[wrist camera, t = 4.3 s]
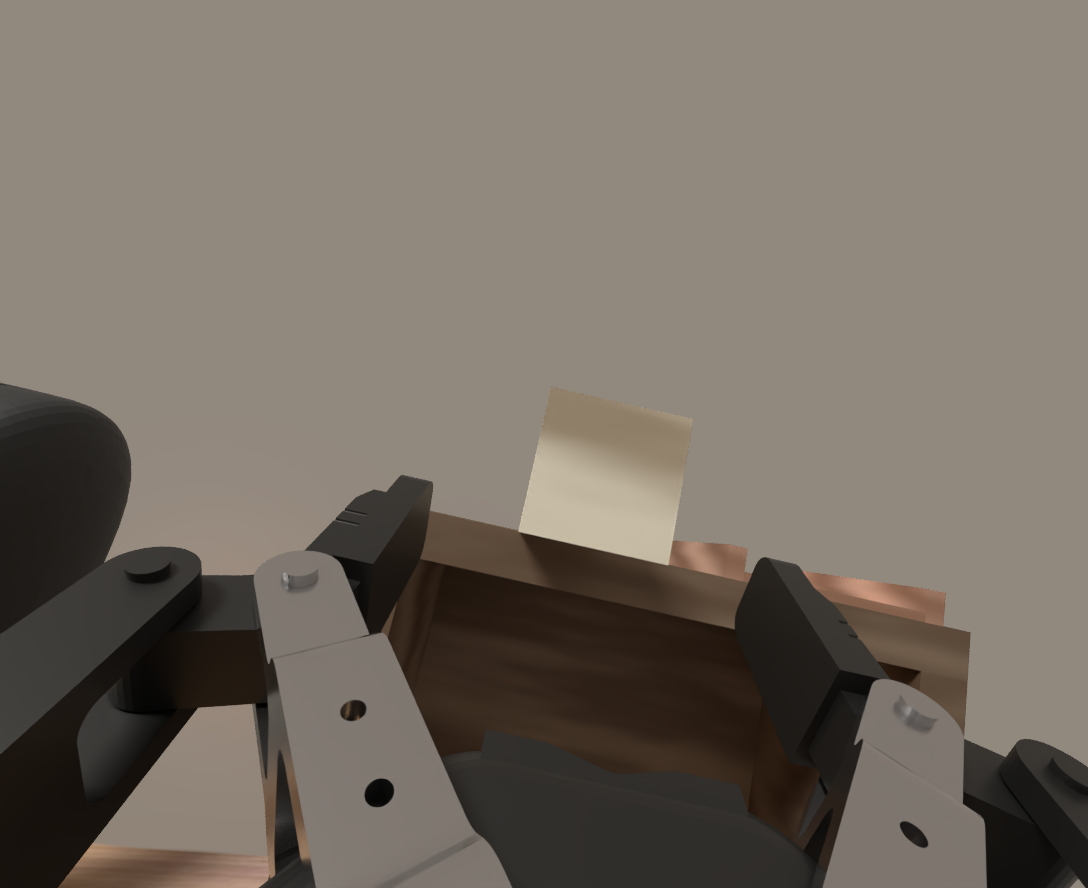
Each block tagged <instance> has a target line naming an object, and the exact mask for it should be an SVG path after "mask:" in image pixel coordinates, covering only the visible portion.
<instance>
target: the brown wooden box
mask: <svg viewBox="0 0 1088 888" xmlns="http://www.w3.org/2000/svg"><path fill="white" fill-rule="evenodd" d="M746 556H747V548H743V547H738V546H734V545H729V544H714V543H699V542H685V541H672V547H671V553H670V559H669V565H664V564H660V563H655V562H651V561H646V560H642V559H637V558H633V557H628V556H624V555H620V554H615V553H611V552H606V551H602V550H597V549H593V548H588V547H584V546H580V545H575V544H571V543H566V542H562V541H557V540H553V539H548V538H544V537H540V536H535V535H531V534H526V533H522V532H518V530H514V529H509V528H505V527H500V526H496V525H492V524H487V523H483V522H478V521H474V520H469V519H465V518H460V517H456V516H452V515H447V514H443V513H438V512H434V511H430V512H429V519H428V526H427V532H426V539H425V544H424V548H423V551H422V554H421V557H420V560H419V562H418V564H417V566H416V568H415V570H414V572H413V574H412V575H411V577H410V579H409V581H408V583H407V585H406V586H405V588H404V590H403V592H402V594H401V596H400V597H399V599H398V601H397V603H396V605H395V607H394V608H393V610H392V612H391V614H390V616H389V618H388V619H387V621H386V623H385V625H384V627H383V629H382V630H381V632H383V633H384V634H385V635H386V636H387V638H388V640H389V642H390V644H391V646H392V649H393V651H394V653H395V656H396V658H397V660H398V662H399V665H400V667H401V669H402V672H403V674H404V676H405V678H406V681H407V683H408V685H409V688H410V690H411V692H412V694H413V697H414V699H415V701H416V704H417V706H418V708H419V710H420V713H421V715H422V717H423V720H424V722H425V724H426V726H427V729H428V731H429V733H430V735H431V738H432V740H433V742H434V745H435V747H436V749H437V751H438V754H439V756H440V758H441V757H444V756H448V755H451V754H456V753H462V752H468V751H481V748H482V744H483V740H484V736H485V731H486V729H488V730H493V731H497V732H502V733H506V734H511V735H515V736H520V737H524V738H529V739H533V740H538V741H542V742H547V743H550V744H552V745H554V746H556V747H558V748H560V749H562V750H565V751H567V752H569V753H571V754H573V755H575V756H577V757H579V758H581V759H583V760H585V761H588V762H590V763H592V764H594V765H596V766H598V767H600V768H602V769H604V770H606V771H609V772H612V773H616V774H628V773H651V772H674V771H678V772H682V773H687V774H692V775H696V776H701V777H705V778H710V779H714V780H719V781H723V782H728V783H732V784H737V785H740V789H741V792H742V795H743V798H744V802H745V805H746V808H747V812H749V813H752V814H754V815H755V816H757V817H759V818H760V819H762V820H764V821H765V822H767V823H769V824H770V825H772V826H773V827H775V828H776V829H777V830H779V831H780V832H782V833H783V834H784V835H786V836H787V837H788V838H789V839H791V840H792V841H793V838H794V835H795V832H796V830H797V827H798V824H799V822H800V819H801V816H802V813H803V811H804V808H805V805H806V803H807V800H808V797H809V794H810V792H811V789H812V787H813V785H814V784H815V782H816V780H817V779H818V777H819V775H820V774H819V772H818V770H817V769H815V768H810V767H806V766H801V765H797V764H792V763H789V761H788V759H787V756H786V754H785V752H784V749H783V747H782V744H781V742H780V740H779V737H778V735H777V732H776V730H775V728H774V725H773V723H772V720H771V718H770V716H769V713H768V711H767V709H766V706H765V704H764V701H763V699H762V697H761V694H760V692H759V689H758V687H757V685H756V682H755V680H754V678H753V675H752V673H751V670H750V668H749V666H748V663H747V661H746V658H745V656H744V654H743V651H742V649H741V647H740V644H739V642H738V639H737V637H736V633H735V615H736V611H737V608H738V606H739V603H740V601H741V599H742V596H743V594H744V592H745V589H746V587H747V585H748V582H749V580H750V578H751V575H752V574H751V573H747V572H744V570H745V562H746ZM803 573H804V574H805V576H806V577H807V578H808V580H809V581H810V582H811V584H812V585H813V587H814V588H815V589H816V590H817V591H818V592H820V593H821V594H822V595H823V596H824V597H826V598H827V599H828V600H829V601H830V602H832V603H833V604H834V605H835V606H836V607H837V608H838V610H839V611H840V612H841V614H842V615H843V616H844V618H845V619H846V620H847V622H848V625H849V626H851V627H852V629H853V630H854V631H855V633H856V634H857V635H858V639H860V640H861V641H862V642H863V643H864V645H865V646H866V647H867V649H868V650H869V651H870V653H871V654H872V655H873V657H874V658H875V659H876V661H877V662H878V663H879V665H880V666H881V667H882V669H883V670H884V671H885V673H886V674H887V675H888V677H889V678H890V679H891V680H894V681H897V682H900V683H903V684H906V685H908V686H910V687H912V688H914V689H916V690H918V691H920V692H921V693H923V694H925V695H926V696H928V697H929V698H931V699H932V700H933V701H935V702H936V703H937V704H939V705H940V706H941V707H942V708H943V709H944V710H945V711H947V712H948V713H949V714H950V716H951V717H952V718H953V719H954V720H955V721H956V723H957V724H958V725H959V727H960V729H961V731H962V733H963V736H964V726H965V711H966V695H967V680H968V664H969V663H968V662H969V648H970V632H966V631H961V630H957V629H953V628H948V627H944V626H943V623H944V609H945V595H946V594H945V593H942V592H938V591H934V590H929V589H923V588H916V587H909V586H902V585H895V584H888V583H881V582H874V581H868V580H861V579H853V578H847V577H840V576H833V575H826V574H819V573H812V572H805V571H803ZM268 880H270V875H269V879H268Z"/></svg>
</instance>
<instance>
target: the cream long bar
mask: <svg viewBox="0 0 1088 888" xmlns="http://www.w3.org/2000/svg"><path fill="white" fill-rule="evenodd" d="M692 425H693V419H691V418H686V417H682V416H678V415H673V414H669V413H664V412H660V411H655V410H651V409H647V408H642V407H638V406H634V405H629V404H625V403H620V402H616V401H611V400H607V399H603V398H598V397H594V396H589V395H585V394H581V393H576V392H572V391H568V390H563V389H559V388H554V387H551V390H550V394H549V399H548V403H547V407H546V412H545V416H544V421H543V425H542V429H541V434H540V438H539V443H538V447H537V451H536V456H535V461H534V465H533V469H532V473H531V478H530V482H529V487H528V491H527V496H526V500H525V504H524V509H523V513H522V518H521V522H520V526H519V531H518V532H522V533H526V534H531V535H535V536H540V537H544V538H548V539H553V540H557V541H562V542H566V543H571V544H575V545H580V546H584V547H588V548H593V549H597V550H602V551H606V552H611V553H615V554H620V555H624V556H628V557H633V558H637V559H642V560H646V561H651V562H655V563H660V564H664V565H669V559H670V553H671V547H672V541H673V535H674V530H675V524H676V518H677V512H678V506H679V500H680V494H681V489H682V483H683V477H684V471H685V465H686V460H687V454H688V448H689V442H690V436H691V430H692Z"/></svg>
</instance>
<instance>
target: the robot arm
mask: <svg viewBox="0 0 1088 888" xmlns="http://www.w3.org/2000/svg"><path fill="white" fill-rule="evenodd" d="M130 482H131V459H130V453H129V449H128V446H127V443H126V440H125V438H124V436H123V434H122V432H121V431H120V429H119V428H118V427H117V425H116V424H115V423H114V422H113V421H112V420H111V419H109V418H108V417H107V416H105V415H104V414H102V413H101V412H100V411H98V410H96V409H94V408H92V407H89V406H87V405H84V404H81V403H79V402H76V401H73V400H69V399H65V398H61V397H58V396H54V395H50V394H46V393H41V392H38V391H33V390H29V389H25V388H21V387H17V386H12V385H7V384H3V383H0V888H58V887H59V885H60V884H61V883H62V882H63V880H64V879H65V878H66V876H67V875H68V874H69V873H70V871H71V870H72V869H73V867H74V866H75V865H76V864H77V862H78V861H79V860H80V858H81V857H82V856H83V855H84V853H85V852H86V851H87V849H88V848H89V847H90V846H91V844H92V843H93V842H94V840H95V839H96V838H97V837H98V835H99V834H100V833H101V831H102V830H103V829H104V828H105V826H106V825H107V824H108V822H109V821H110V820H111V819H112V817H113V816H114V815H115V813H116V812H117V811H118V810H119V808H120V807H121V806H122V805H123V803H124V802H125V801H126V799H127V798H128V797H129V796H130V794H131V793H132V792H133V790H134V789H135V788H136V786H137V785H138V784H139V783H140V781H141V780H142V779H143V778H144V776H145V775H146V774H147V773H148V771H149V770H150V769H151V767H152V766H153V765H154V764H155V762H156V761H157V760H158V758H159V757H160V756H161V754H162V753H163V752H164V751H165V749H166V748H167V747H168V746H169V744H170V743H171V742H172V740H173V739H174V738H175V737H176V735H177V734H178V733H179V731H180V730H181V729H182V728H183V726H184V725H185V724H186V722H187V721H188V720H189V719H190V717H191V716H192V715H193V713H194V712H195V711H196V710H197V708H199V707H213V706H228V705H242V704H252V706H253V714H254V722H255V730H256V737H257V746H258V754H259V761H260V769H261V777H262V785H263V793H264V802H265V815H266V816H265V817H266V837H267V850H268V862H269V871H270V880H268V881H267V882H266V883H264V884H263V885H262V886H261V887H259V888H1070V887H1071V886H1072V885H1073V884H1074V883H1075V882H1076V881H1077V880H1078V879H1079V880H1080V881H1081V882H1082V884H1083V885H1084V886H1085V887H1086V888H1088V767H1087V766H1085V765H1084V764H1082V763H1081V762H1079V761H1078V760H1076V759H1074V758H1073V757H1071V756H1069V755H1068V754H1066V753H1064V752H1062V751H1060V750H1058V749H1056V748H1054V747H1052V746H1050V745H1047V744H1045V743H1042V742H1039V741H1035V740H1031V739H1023V740H1019V741H1018V742H1017V743H1016V745H1015V746H1014V747H1013V749H1012V750H1011V751H1010V752H1009V754H1008V755H1007V756H1006V757H1004V756H1002V755H999V754H997V753H995V752H992V751H990V750H988V749H986V748H983V747H981V746H979V745H977V744H974V743H972V742H970V741H967V740H965V739H964V736H963V733H962V731H961V729H960V727H959V725H958V724H957V723H956V721H955V720H954V719H953V718H952V717H951V716H950V714H949V713H948V712H947V711H945V710H944V709H943V708H942V707H941V706H940V705H939V704H937V703H936V702H935V701H933V700H932V699H931V698H929V697H928V696H926V695H925V694H923V693H921V692H920V691H918V690H916V689H914V688H912V687H910V686H908V685H906V684H903V683H900V682H897V681H894V680H891V679H890V678H889V677H888V675H887V674H886V673H885V671H884V670H883V669H882V667H881V666H880V665H879V663H878V662H877V661H876V659H875V658H874V657H873V655H872V654H871V653H870V651H869V650H868V649H867V647H866V646H865V645H864V643H863V642H862V641H861V640H860V639H858V635H857V634H856V633H855V631H854V630H853V629H852V627H851V626H849V625H848V622H847V620H846V619H845V618H844V616H843V615H842V614H841V612H840V611H839V610H838V608H837V607H836V606H835V605H834V604H833V603H832V602H830V601H829V600H828V599H827V598H826V597H824V596H823V595H822V594H821V593H820V592H818V591H817V590H816V589H815V588H814V587H813V585H812V584H811V582H810V581H809V580H808V578H807V577H806V576H805V574H804V573H803V571H802V570H801V569H800V567H799V566H798V565H796V564H793V563H788V562H784V561H779V560H775V559H770V558H766V557H764V558H761V559H760V560H759V561H758V562H757V564H756V566H755V568H754V571H753V573H752V575H751V578H750V580H749V582H748V585H747V587H746V589H745V592H744V594H743V596H742V599H741V601H740V603H739V606H738V608H737V611H736V615H735V633H736V637H737V639H738V642H739V644H740V647H741V649H742V651H743V654H744V656H745V658H746V661H747V663H748V666H749V668H750V670H751V673H752V675H753V678H754V680H755V682H756V685H757V687H758V689H759V692H760V694H761V697H762V699H763V701H764V704H765V706H766V709H767V711H768V713H769V716H770V718H771V720H772V723H773V725H774V728H775V730H776V732H777V735H778V737H779V740H780V742H781V744H782V747H783V749H784V752H785V754H786V756H787V759H788V761H789V763H792V764H797V765H801V766H806V767H810V768H815V769H817V770H818V772H819V774H820V775H819V777H818V779H817V780H816V782H815V784H814V785H813V787H812V789H811V792H810V794H809V797H808V800H807V803H806V805H805V808H804V811H803V813H802V816H801V819H800V822H799V824H798V827H797V830H796V832H795V835H794V838H793V841H792V840H791V839H789V838H788V837H787V836H786V835H784V834H783V833H782V832H780V831H779V830H777V829H776V828H775V827H773V826H772V825H770V824H769V823H767V822H765V821H764V820H762V819H760V818H759V817H757V816H755V815H754V814H752V813H749V812H747V808H746V805H745V802H744V798H743V795H742V792H741V789H740V785H737V784H732V783H728V782H723V781H719V780H714V779H710V778H705V777H701V776H696V775H692V774H687V773H682V772H678V771H674V772H651V773H628V774H616V773H612V772H609V771H606V770H604V769H602V768H600V767H598V766H596V765H594V764H592V763H590V762H588V761H585V760H583V759H581V758H579V757H577V756H575V755H573V754H571V753H569V752H567V751H565V750H562V749H560V748H558V747H556V746H554V745H552V744H550V743H547V742H542V741H538V740H533V739H529V738H524V737H520V736H515V735H511V734H506V733H502V732H497V731H493V730H488V729H486V731H485V736H484V740H483V744H482V748H481V751H468V752H462V753H456V754H451V755H448V756H444V757H441V758H440V756H439V754H438V751H437V749H436V747H435V745H434V742H433V740H432V738H431V735H430V733H429V731H428V729H427V726H426V724H425V722H424V720H423V717H422V715H421V713H420V710H419V708H418V706H417V704H416V701H415V699H414V697H413V694H412V692H411V690H410V688H409V685H408V683H407V681H406V678H405V676H404V674H403V672H402V669H401V667H400V665H399V662H398V660H397V658H396V656H395V653H394V651H393V649H392V646H391V644H390V642H389V640H388V638H387V636H386V635H385V634H384V633H383V632H381V630H382V629H383V627H384V625H385V623H386V621H387V619H388V618H389V616H390V614H391V612H392V610H393V608H394V607H395V605H396V603H397V601H398V599H399V597H400V596H401V594H402V592H403V590H404V588H405V586H406V585H407V583H408V581H409V579H410V577H411V575H412V574H413V572H414V570H415V568H416V566H417V564H418V562H419V560H420V557H421V554H422V551H423V548H424V544H425V539H426V532H427V526H428V519H429V512H430V505H431V499H432V492H433V483H432V482H431V481H427V480H423V479H418V478H414V477H409V476H404V475H401V476H400V477H399V478H398V479H397V480H396V481H395V483H394V484H393V485H392V486H391V487H390V488H389V490H388V491H387V492H383V491H378V490H372V491H370V492H367V493H365V494H363V495H360V496H358V497H356V498H355V499H354V500H353V501H352V502H351V503H350V504H349V505H348V506H347V507H346V508H345V511H342V512H341V513H340V514H339V515H338V517H337V518H336V520H335V521H333V522H332V523H331V524H330V525H329V526H328V527H327V528H326V529H325V530H324V531H323V532H322V533H321V534H320V535H319V536H318V537H317V538H316V539H315V540H314V541H313V542H312V544H310V546H309V547H308V548H307V549H306V550H305V551H293V552H288V553H284V554H281V555H278V556H275V557H273V558H271V559H269V560H267V561H266V562H264V563H263V564H262V565H261V566H260V567H259V568H258V569H257V571H256V572H255V575H242V576H230V575H228V576H227V575H226V576H225V575H222V576H221V575H220V576H219V575H202V573H201V572H202V569H201V561H200V559H199V557H198V556H197V555H196V554H194V553H192V552H190V551H188V550H185V549H181V548H176V547H151V548H143V549H139V550H134V551H131V552H127V553H124V554H121V555H119V556H116V557H114V558H112V559H110V560H108V561H107V562H105V563H104V561H105V559H106V557H107V554H108V552H109V550H110V547H111V545H112V543H113V540H114V538H115V535H116V533H117V530H118V528H119V525H120V522H121V519H122V516H123V513H124V509H125V506H126V503H127V499H128V493H129V488H130Z"/></svg>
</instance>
